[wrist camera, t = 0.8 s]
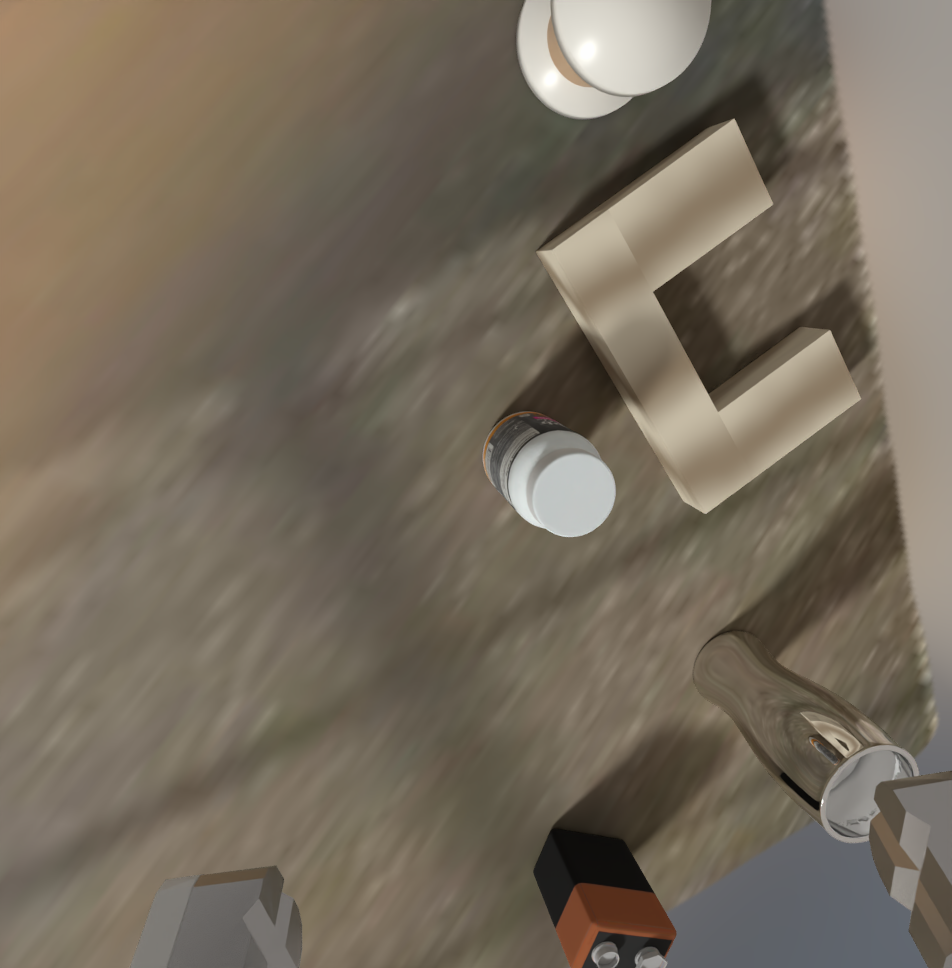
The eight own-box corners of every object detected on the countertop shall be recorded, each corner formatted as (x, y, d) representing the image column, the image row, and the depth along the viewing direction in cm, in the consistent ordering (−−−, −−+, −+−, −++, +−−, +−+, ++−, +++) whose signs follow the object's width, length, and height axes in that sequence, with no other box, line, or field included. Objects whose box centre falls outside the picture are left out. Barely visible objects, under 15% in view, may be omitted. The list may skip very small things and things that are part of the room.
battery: (604, 882, 60) (662, 995, 50) (529, 871, 58) (575, 988, 48) (625, 837, 59) (687, 943, 50) (550, 824, 57) (600, 933, 47)
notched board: (535, 251, 45) (551, 250, 42) (707, 128, 45) (734, 118, 42) (683, 501, 52) (705, 514, 49) (830, 392, 52) (861, 398, 49)
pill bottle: (580, 439, 49) (647, 478, 40) (531, 510, 49) (585, 565, 40) (512, 392, 47) (566, 421, 38) (462, 467, 48) (503, 514, 38)
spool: (488, 14, 41) (526, -36, 34) (605, -69, 41) (664, -134, 34) (562, 147, 44) (609, 125, 37) (670, 69, 44) (737, 34, 37)
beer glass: (673, 698, 56) (799, 840, 42) (707, 616, 55) (849, 733, 41) (747, 713, 58) (891, 852, 44) (782, 634, 57) (941, 752, 43)
